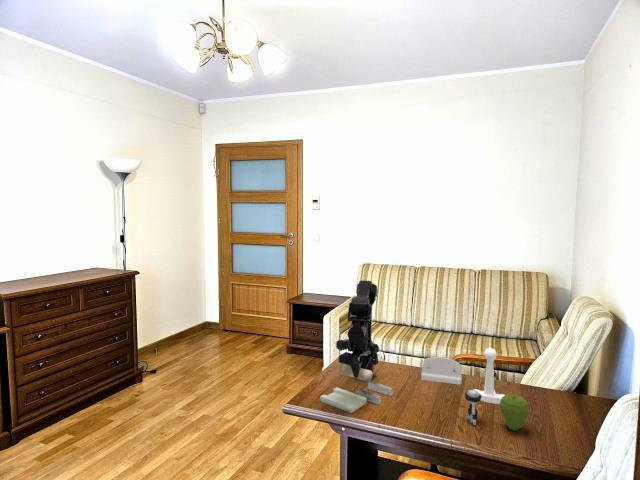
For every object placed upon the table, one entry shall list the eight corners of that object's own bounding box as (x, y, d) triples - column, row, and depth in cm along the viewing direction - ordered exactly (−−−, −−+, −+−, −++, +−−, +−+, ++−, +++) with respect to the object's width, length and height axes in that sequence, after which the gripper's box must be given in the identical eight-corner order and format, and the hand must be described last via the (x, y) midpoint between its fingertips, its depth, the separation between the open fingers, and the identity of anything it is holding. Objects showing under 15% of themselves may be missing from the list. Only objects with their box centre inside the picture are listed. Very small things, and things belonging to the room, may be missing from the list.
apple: (533, 430, 134) (535, 396, 133) (518, 438, 130) (520, 403, 129) (508, 419, 141) (510, 386, 141) (493, 426, 137) (495, 392, 136)
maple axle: (339, 375, 154) (339, 364, 153) (345, 371, 157) (345, 361, 157) (366, 383, 146) (366, 372, 146) (372, 379, 150) (372, 369, 149)
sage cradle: (336, 392, 162) (336, 387, 162) (366, 402, 153) (366, 397, 153) (320, 401, 154) (320, 396, 154) (351, 413, 145) (351, 407, 145)
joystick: (472, 399, 156) (474, 347, 154) (475, 391, 163) (476, 342, 161) (504, 405, 151) (506, 352, 149) (505, 397, 158) (507, 346, 156)
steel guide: (370, 387, 166) (371, 381, 166) (392, 394, 160) (392, 388, 160) (355, 396, 158) (355, 390, 158) (378, 404, 152) (378, 398, 151)
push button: (482, 427, 136) (483, 398, 135) (466, 425, 137) (466, 396, 136) (479, 417, 143) (479, 389, 142) (462, 415, 144) (463, 388, 143)
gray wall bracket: (420, 379, 174) (421, 355, 176) (421, 378, 178) (422, 355, 181) (462, 384, 169) (462, 359, 171) (461, 384, 173) (462, 359, 176)
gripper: (354, 324, 162) (354, 363, 163) (326, 336, 147) (326, 378, 148) (379, 329, 155) (379, 370, 156) (352, 342, 140) (352, 386, 141)
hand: (359, 375), depth 151 cm, fingers closed on maple axle, 4 cm apart
